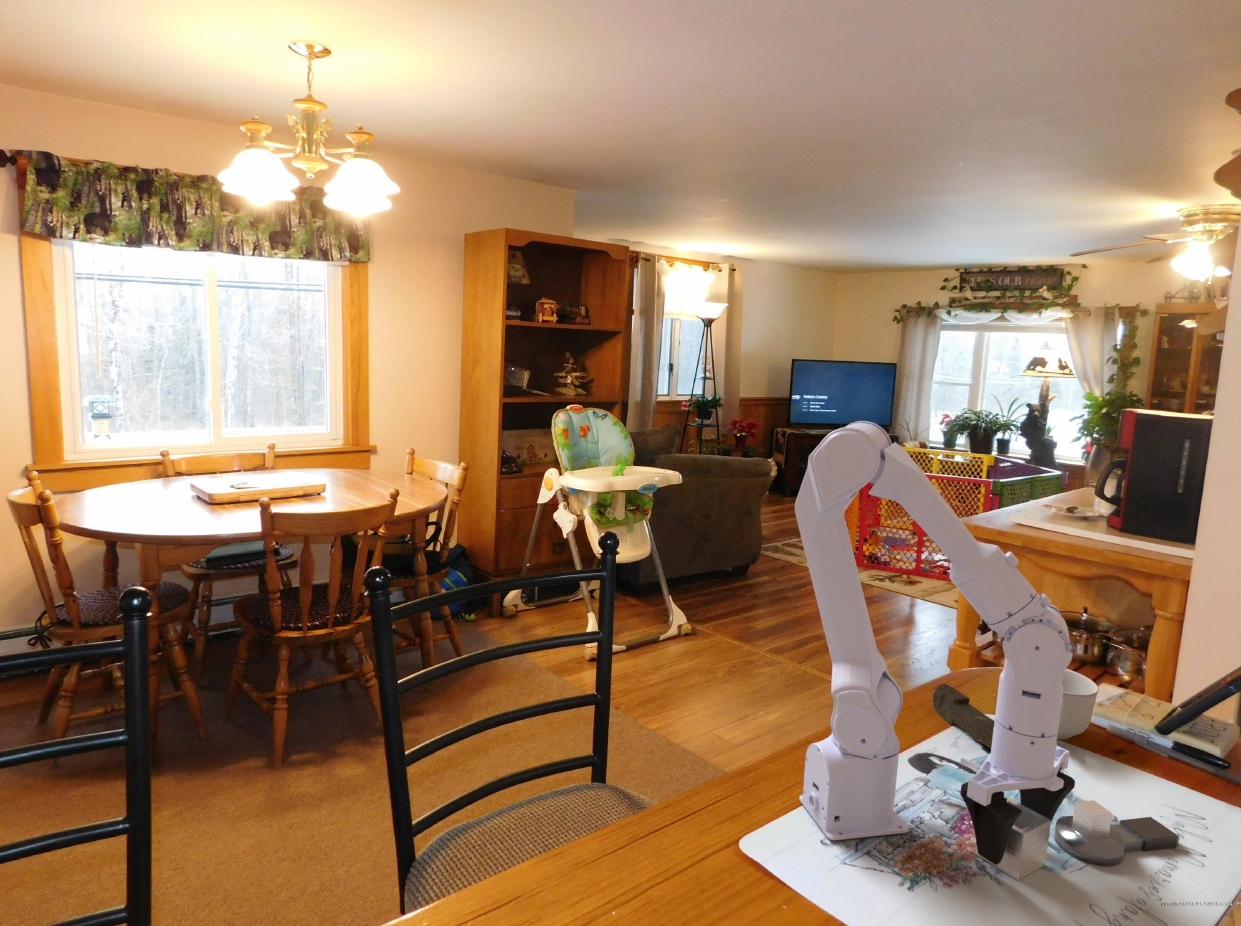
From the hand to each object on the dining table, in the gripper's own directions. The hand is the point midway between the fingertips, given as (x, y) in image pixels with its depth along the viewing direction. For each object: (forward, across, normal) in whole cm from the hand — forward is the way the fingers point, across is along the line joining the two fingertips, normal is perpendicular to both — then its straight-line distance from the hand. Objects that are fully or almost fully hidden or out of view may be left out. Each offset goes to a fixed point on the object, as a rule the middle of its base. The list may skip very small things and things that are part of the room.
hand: (1011, 846), depth 82 cm
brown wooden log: (+2, +20, +18) cm, 27 cm away
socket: (+1, 0, 0) cm, 1 cm away
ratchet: (+2, +13, -4) cm, 14 cm away
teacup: (+2, +31, +14) cm, 34 cm away
